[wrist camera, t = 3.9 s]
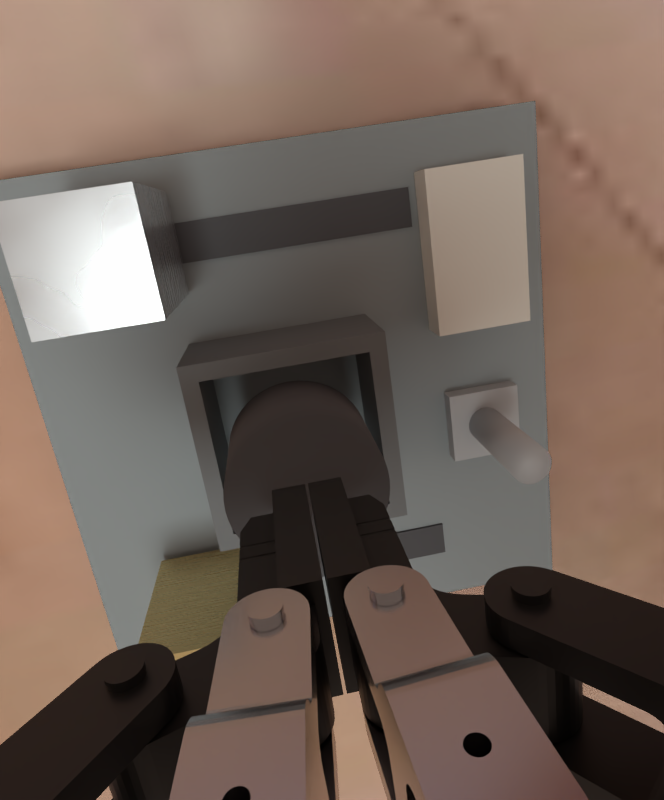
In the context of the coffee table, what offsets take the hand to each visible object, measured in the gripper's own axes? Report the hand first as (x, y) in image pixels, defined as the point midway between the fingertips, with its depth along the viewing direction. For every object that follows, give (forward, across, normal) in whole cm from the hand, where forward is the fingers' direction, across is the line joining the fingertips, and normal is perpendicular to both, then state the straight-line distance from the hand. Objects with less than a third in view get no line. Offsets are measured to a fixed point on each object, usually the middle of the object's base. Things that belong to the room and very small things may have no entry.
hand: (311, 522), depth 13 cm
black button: (+5, 0, 0) cm, 5 cm away
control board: (+10, -1, 0) cm, 10 cm away
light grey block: (+7, +4, -6) cm, 10 cm away
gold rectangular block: (+8, +4, +6) cm, 10 cm away
